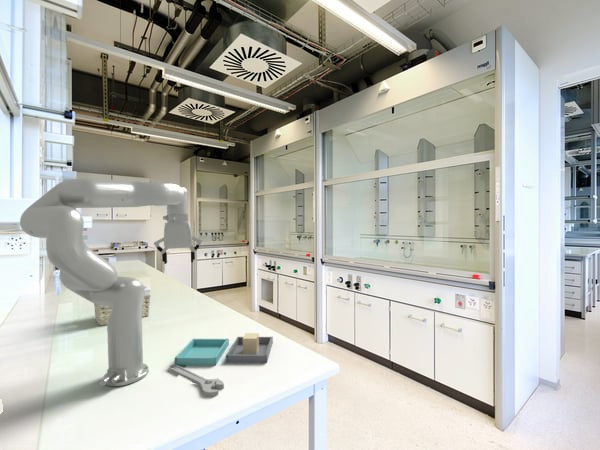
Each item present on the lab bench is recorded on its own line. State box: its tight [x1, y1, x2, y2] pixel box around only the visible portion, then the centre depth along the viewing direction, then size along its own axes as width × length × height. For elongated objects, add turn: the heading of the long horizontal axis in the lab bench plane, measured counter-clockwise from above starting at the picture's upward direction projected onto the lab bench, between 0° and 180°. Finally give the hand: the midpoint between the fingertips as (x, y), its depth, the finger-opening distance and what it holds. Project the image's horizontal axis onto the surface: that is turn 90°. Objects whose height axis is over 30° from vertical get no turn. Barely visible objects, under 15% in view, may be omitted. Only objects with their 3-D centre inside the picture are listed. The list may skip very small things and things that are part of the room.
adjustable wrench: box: [168, 363, 225, 397], centre depth 94 cm, size 25×6×2 cm, turn 50°
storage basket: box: [93, 283, 152, 326], centre depth 152 cm, size 24×16×15 cm
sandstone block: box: [242, 332, 260, 355], centre depth 111 cm, size 5×5×6 cm
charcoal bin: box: [225, 336, 274, 364], centre depth 111 cm, size 16×14×3 cm
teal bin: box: [174, 338, 230, 368], centre depth 109 cm, size 16×14×3 cm
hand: (179, 262), depth 117 cm, fingers open, 9 cm apart
